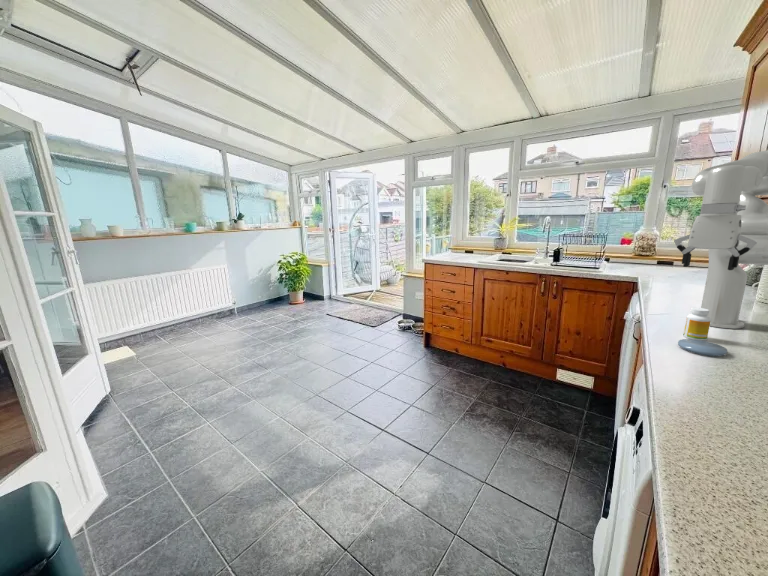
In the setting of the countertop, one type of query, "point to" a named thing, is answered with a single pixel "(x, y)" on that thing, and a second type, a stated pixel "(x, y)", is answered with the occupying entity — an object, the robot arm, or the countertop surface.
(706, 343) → the pale blue round plate
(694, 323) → the supplement bottle
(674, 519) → the countertop surface
